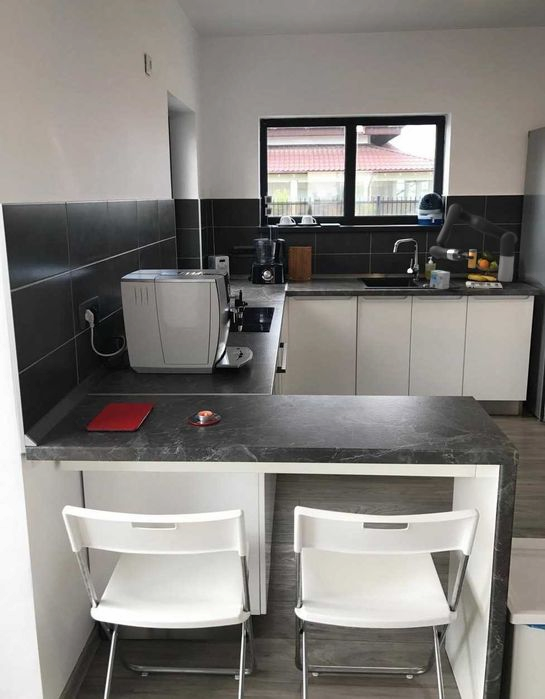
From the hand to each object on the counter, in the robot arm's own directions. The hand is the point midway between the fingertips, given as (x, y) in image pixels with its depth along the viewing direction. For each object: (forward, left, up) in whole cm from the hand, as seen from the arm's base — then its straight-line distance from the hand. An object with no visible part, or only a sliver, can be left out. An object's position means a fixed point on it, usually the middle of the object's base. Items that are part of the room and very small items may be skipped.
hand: (475, 257), depth 458 cm
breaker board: (-6, +11, -17) cm, 21 cm away
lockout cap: (+2, -2, -7) cm, 7 cm away
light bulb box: (+23, +24, -18) cm, 38 cm away
